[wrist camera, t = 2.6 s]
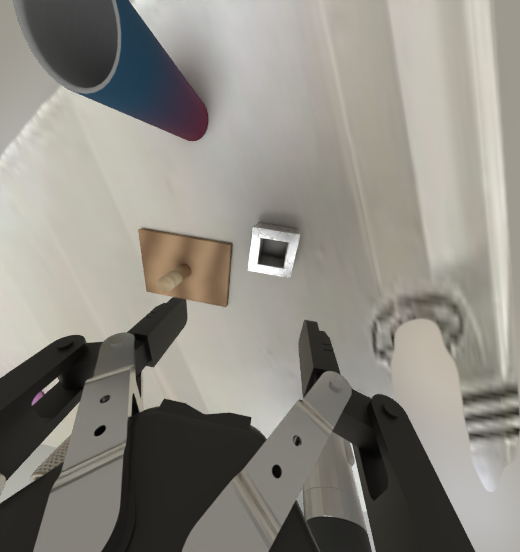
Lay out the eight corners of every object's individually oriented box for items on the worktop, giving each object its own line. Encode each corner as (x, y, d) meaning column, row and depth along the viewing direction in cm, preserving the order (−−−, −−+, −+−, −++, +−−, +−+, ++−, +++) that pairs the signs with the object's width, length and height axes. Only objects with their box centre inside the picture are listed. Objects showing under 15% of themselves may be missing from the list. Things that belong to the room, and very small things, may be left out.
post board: (232, 243, 30) (217, 256, 24) (227, 304, 35) (214, 327, 29) (142, 228, 32) (105, 236, 25) (150, 289, 36) (121, 308, 30)
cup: (216, 149, 25) (132, 93, 12) (170, 148, 26) (41, 94, 12) (213, 84, 23) (100, -89, 9) (162, 85, 23) (-14, -74, 10)
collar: (297, 228, 28) (300, 234, 23) (289, 266, 31) (290, 278, 26) (258, 222, 28) (252, 227, 24) (253, 259, 31) (247, 270, 26)
